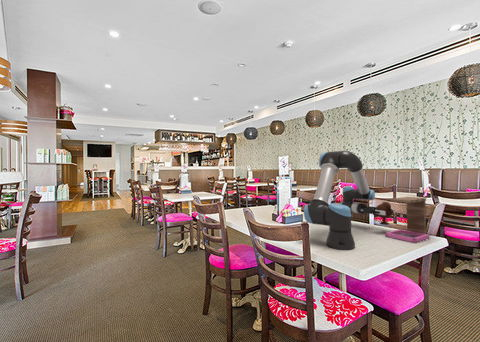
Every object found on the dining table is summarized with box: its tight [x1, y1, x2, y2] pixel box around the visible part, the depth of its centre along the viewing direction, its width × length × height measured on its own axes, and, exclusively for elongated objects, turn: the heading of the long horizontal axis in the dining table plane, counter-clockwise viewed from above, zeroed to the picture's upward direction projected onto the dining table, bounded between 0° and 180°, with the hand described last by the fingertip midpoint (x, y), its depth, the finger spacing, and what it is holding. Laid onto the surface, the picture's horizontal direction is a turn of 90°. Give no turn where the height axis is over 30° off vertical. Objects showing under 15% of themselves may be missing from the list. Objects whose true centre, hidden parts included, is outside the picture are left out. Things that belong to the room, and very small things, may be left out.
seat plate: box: [384, 229, 431, 244], centre depth 151 cm, size 17×17×2 cm
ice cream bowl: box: [375, 201, 394, 226], centre depth 163 cm, size 11×11×15 cm
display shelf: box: [390, 196, 427, 234], centre depth 151 cm, size 20×11×24 cm, turn 119°
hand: (390, 212), depth 159 cm, fingers closed on ice cream bowl, 11 cm apart
